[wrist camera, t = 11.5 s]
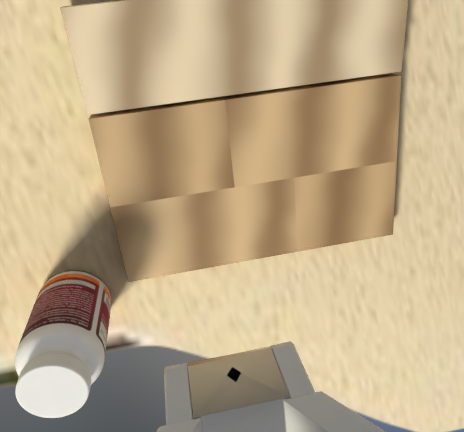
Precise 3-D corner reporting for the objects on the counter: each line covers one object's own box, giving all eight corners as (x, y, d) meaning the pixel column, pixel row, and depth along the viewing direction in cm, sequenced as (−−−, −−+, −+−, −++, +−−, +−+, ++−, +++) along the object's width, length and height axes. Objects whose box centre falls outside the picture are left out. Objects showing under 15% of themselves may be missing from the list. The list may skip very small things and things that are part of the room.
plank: (399, -31, 32) (411, -32, 31) (391, 67, 36) (401, 71, 34) (63, 6, 30) (60, 7, 28) (89, 108, 33) (87, 114, 32)
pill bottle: (23, 298, 39) (-21, 395, 29) (75, 255, 38) (48, 339, 28) (77, 338, 41) (54, 439, 31) (126, 298, 40) (119, 390, 30)
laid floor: (391, 73, 36) (401, 75, 35) (384, 226, 42) (392, 234, 40) (91, 114, 33) (88, 119, 32) (128, 272, 39) (128, 282, 38)
